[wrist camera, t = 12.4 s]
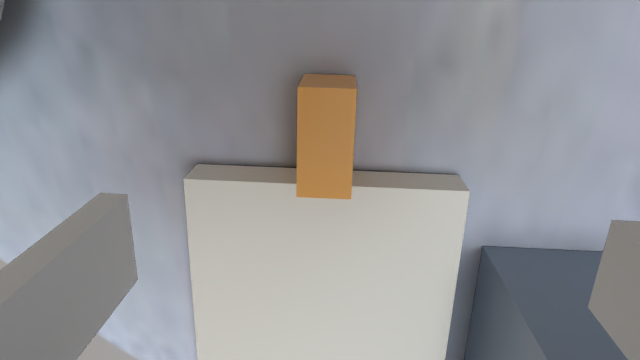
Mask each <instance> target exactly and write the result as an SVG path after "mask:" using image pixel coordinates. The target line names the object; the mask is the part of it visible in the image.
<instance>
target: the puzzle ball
mask: <svg viewBox="0 0 640 360" xmlns="http://www.w3.org/2000/svg"><path fill="white" fill-rule="evenodd" d="M4 2H5V0H0V20H1V18H2V12H3V7H4Z"/></svg>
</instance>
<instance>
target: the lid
mask: <svg viewBox="0 0 640 360" xmlns="http://www.w3.org/2000/svg"><path fill="white" fill-rule="evenodd" d="M356 102H357V84H356V77H355V75H329V74H305V75H304V76H303V78H302V80H301V82H300V83H299V85H298V92H297V168H279V167H256V166H232V165H208V164H197V165H196V166H195V167H194V168H193V169H192V170H191V171H190V172H189V173H188V175H187V176H186V177H185V178H184V179H183V180H184V193H185V206H186V219H187V232H188V245H189V257H190V270H191V283H192V296H193V309H194V322H195V335H196V348H197V360H445V357H446V350H447V343H448V337H449V330H450V323H451V316H452V310H453V303H454V296H455V289H456V283H457V276H458V269H459V262H460V256H461V249H462V242H463V235H464V229H465V222H466V215H467V208H468V202H469V195H470V191H469V189H468V188H467V186H466V185H465V183H464V182H463V180H462V179H461V177H460V176H459V175H446V174H422V173H398V172H375V171H353V157H354V139H355V121H356Z"/></svg>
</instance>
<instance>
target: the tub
mask: <svg viewBox="0 0 640 360" xmlns="http://www.w3.org/2000/svg"><path fill="white" fill-rule="evenodd" d="M602 254H603V252H596V251H575V250H554V249H532V248H511V247H490V246H483V249H482V255H481V261H480V267H479V273H478V279H477V285H476V291H475V297H474V303H473V309H472V315H471V321H470V327H469V333H468V339H467V345H466V351H465V357H464V360H628V359H627V358H626V356H625V355H624V354H623V353H622V351H621V350H620V349H619V347H618V346H617V345H616V343H615V342H614V341H613V339H612V338H611V337H610V336H609V334H608V333H607V332H606V330H605V329H604V328H603V326H602V325H601V324H600V322H599V321H598V320H597V319H596V317H595V316H594V315H593V313H592V312H591V311H590V309H589V308H588V305H589V301H590V297H591V294H592V290H593V286H594V283H595V279H596V276H597V272H598V268H599V265H600V261H601V257H602Z"/></svg>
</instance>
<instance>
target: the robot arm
mask: <svg viewBox="0 0 640 360" xmlns="http://www.w3.org/2000/svg"><path fill="white" fill-rule="evenodd" d="M137 280H138V277H137V269H136V260H135V252H134V244H133V236H132V228H131V220H130V212H129V204H128V196H127V194H111V193H100V194H98V195H97V196H96V197H95V198H93V199H92V200H91V201H89V202H88V203H87V204H85V205H84V206H83V207H82V208H80V209H79V210H78V211H76V212H75V213H74V214H72V215H71V216H70V217H69V218H67V219H66V220H65V221H63V222H62V223H61V224H59V225H58V226H57V227H56V228H54V229H53V230H52V231H50V232H49V233H48V234H47V235H45V236H44V237H43V238H41V239H40V240H39V241H37V242H36V243H35V244H34V245H32V246H31V247H30V248H28V249H27V250H26V251H24V252H23V253H22V254H21V255H19V256H18V257H17V258H15V259H14V260H13V261H11V262H10V263H9V264H8V265H6V266H5V267H4V268H2V269H1V270H0V360H77V359H78V357H79V356H80V355H81V353H82V352H83V351H84V349H85V348H86V347H87V345H88V344H89V343H90V342H91V340H92V339H93V338H94V336H95V335H96V334H97V332H98V331H99V330H100V328H101V327H102V326H103V325H104V323H105V322H106V321H107V319H108V318H109V317H110V315H111V314H112V313H113V311H114V310H115V309H116V307H117V306H118V305H119V304H120V302H121V301H122V300H123V298H124V297H125V296H126V294H127V293H128V292H129V290H130V289H131V288H132V287H133V285H134V284H135V283H136V281H137ZM588 308H589V309H590V311H591V312H592V313H593V315H594V316H595V317H596V319H597V320H598V321H599V322H600V324H601V325H602V326H603V328H604V329H605V330H606V332H607V333H608V334H609V336H610V337H611V338H612V339H613V341H614V342H615V343H616V345H617V346H618V347H619V349H620V350H621V351H622V353H623V354H624V355H625V356H626V358H627V359H628V360H640V221H622V220H612V221H611V225H610V228H609V232H608V236H607V239H606V243H605V246H604V250H603V254H602V257H601V261H600V265H599V268H598V272H597V276H596V279H595V283H594V286H593V290H592V294H591V297H590V301H589V305H588Z"/></svg>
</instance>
